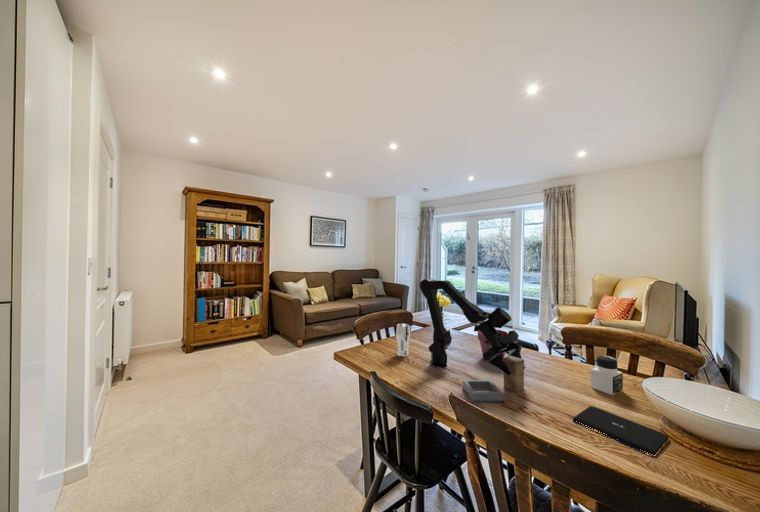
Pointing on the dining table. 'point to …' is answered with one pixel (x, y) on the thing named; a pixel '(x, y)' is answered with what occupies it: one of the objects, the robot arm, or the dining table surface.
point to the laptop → (622, 430)
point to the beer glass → (403, 339)
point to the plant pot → (487, 346)
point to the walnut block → (514, 373)
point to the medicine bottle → (607, 376)
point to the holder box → (482, 391)
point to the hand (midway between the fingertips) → (517, 371)
